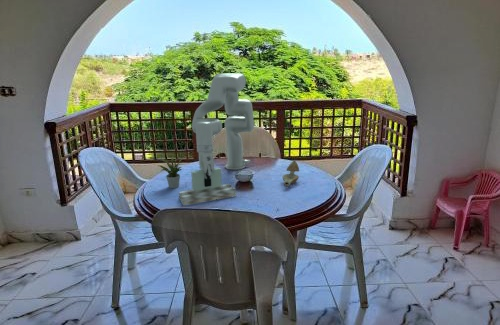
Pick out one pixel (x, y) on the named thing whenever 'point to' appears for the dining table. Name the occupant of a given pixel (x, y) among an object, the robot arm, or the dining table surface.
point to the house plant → (172, 173)
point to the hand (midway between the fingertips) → (207, 184)
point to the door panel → (200, 176)
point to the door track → (206, 194)
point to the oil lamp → (291, 174)
